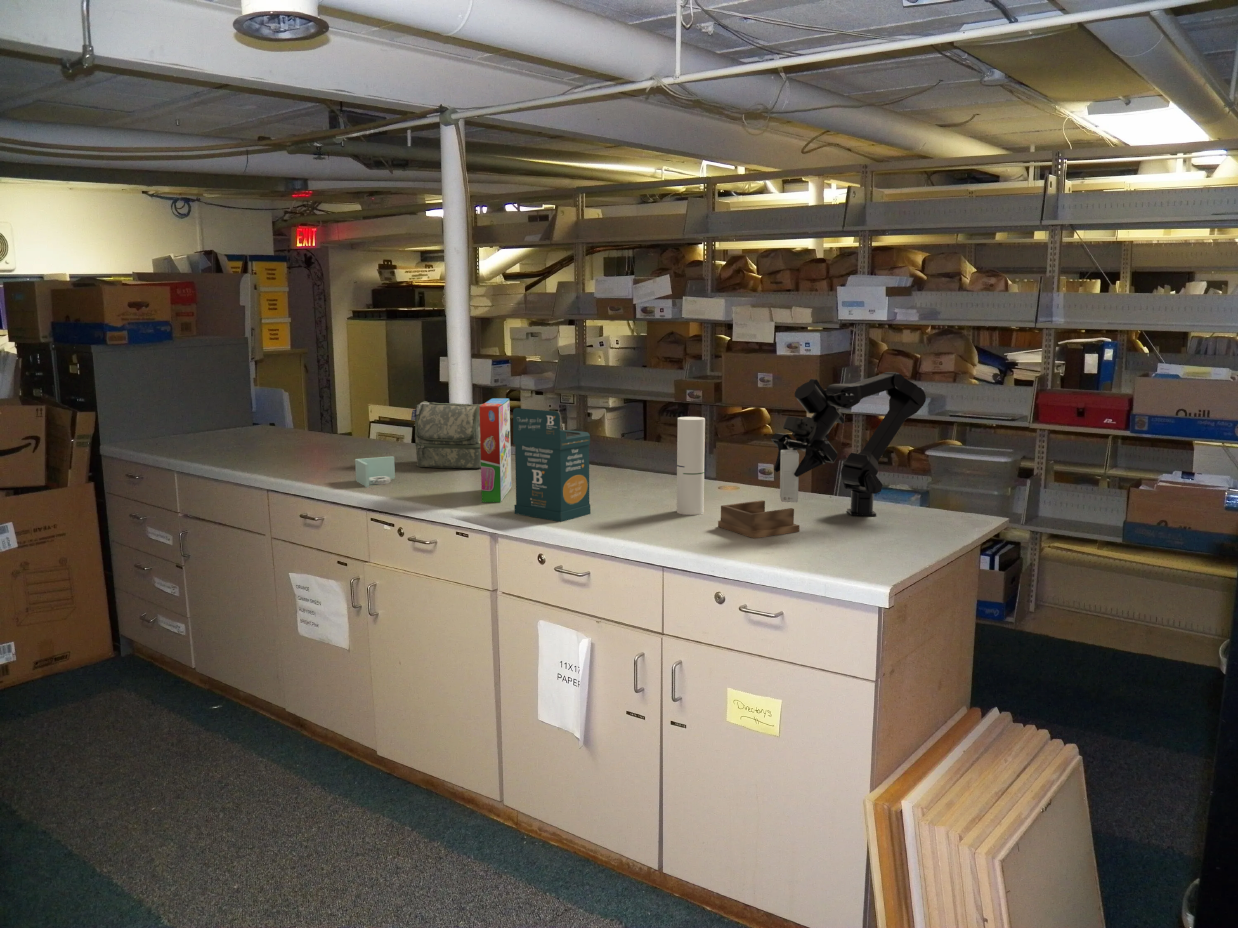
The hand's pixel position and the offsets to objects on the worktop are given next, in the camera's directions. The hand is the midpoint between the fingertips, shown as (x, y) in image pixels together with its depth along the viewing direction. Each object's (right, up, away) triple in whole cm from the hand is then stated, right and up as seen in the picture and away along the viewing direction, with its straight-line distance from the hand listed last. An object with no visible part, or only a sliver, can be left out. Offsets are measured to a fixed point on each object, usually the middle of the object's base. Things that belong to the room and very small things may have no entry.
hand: (785, 473), depth 232 cm
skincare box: (+1, -7, +2) cm, 7 cm away
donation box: (-57, -11, +18) cm, 61 cm away
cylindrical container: (-22, -11, +18) cm, 30 cm away
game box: (-76, -7, +40) cm, 86 cm away
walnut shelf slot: (-7, -14, -1) cm, 15 cm away
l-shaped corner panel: (-115, -4, +61) cm, 130 cm away
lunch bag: (-98, +2, +93) cm, 135 cm away
